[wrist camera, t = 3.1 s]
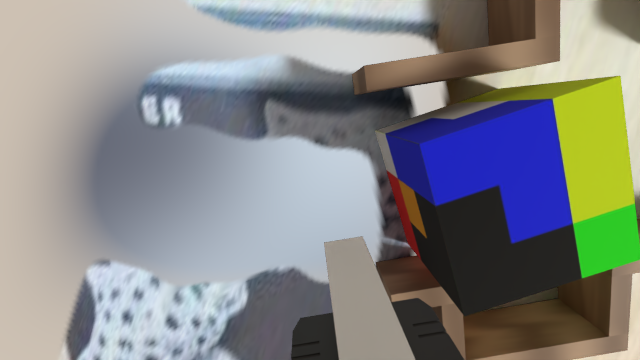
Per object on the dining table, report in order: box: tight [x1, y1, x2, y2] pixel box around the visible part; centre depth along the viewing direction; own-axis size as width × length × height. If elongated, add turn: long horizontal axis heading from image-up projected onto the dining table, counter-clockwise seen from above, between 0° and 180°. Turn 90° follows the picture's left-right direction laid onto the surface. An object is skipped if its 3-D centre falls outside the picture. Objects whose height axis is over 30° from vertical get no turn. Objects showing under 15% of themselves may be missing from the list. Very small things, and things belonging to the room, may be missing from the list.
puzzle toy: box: [375, 76, 640, 316], centre depth 21 cm, size 10×10×10 cm
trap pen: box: [352, 0, 640, 360], centre depth 24 cm, size 32×30×5 cm
